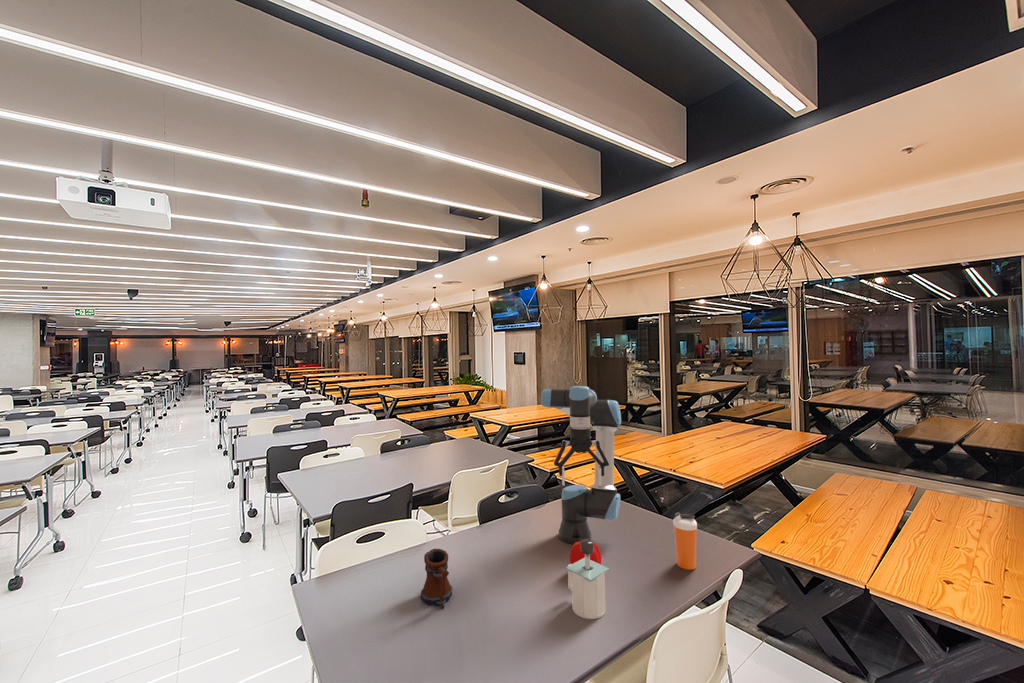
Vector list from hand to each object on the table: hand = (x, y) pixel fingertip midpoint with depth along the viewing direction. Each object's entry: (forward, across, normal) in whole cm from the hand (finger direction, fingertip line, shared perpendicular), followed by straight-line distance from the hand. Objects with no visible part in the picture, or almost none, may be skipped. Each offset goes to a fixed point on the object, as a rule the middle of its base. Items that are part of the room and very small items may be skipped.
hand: (581, 484), depth 151 cm
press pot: (+37, -1, -13) cm, 39 cm away
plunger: (+33, 0, -14) cm, 36 cm away
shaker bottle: (+37, +42, +16) cm, 58 cm away
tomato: (+37, +1, +7) cm, 38 cm away
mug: (+37, -52, -12) cm, 65 cm away
